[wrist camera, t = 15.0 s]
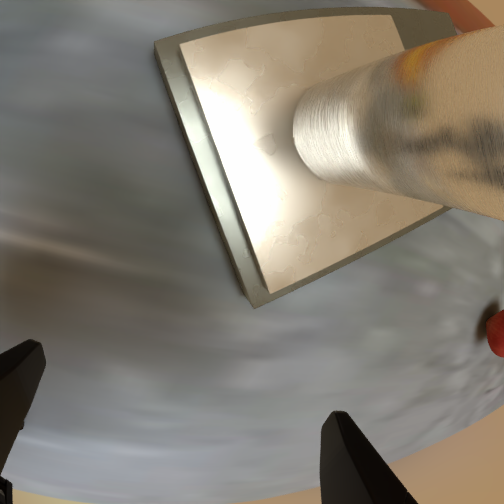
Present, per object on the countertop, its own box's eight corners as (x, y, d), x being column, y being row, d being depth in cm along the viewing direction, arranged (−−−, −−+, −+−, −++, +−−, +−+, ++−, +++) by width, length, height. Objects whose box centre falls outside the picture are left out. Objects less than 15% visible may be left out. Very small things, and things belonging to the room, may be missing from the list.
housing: (356, 203, 18) (573, 276, 6) (272, 146, 16) (526, 140, 4) (398, 122, 17) (601, 125, 5) (324, 59, 15) (538, -20, 3)
